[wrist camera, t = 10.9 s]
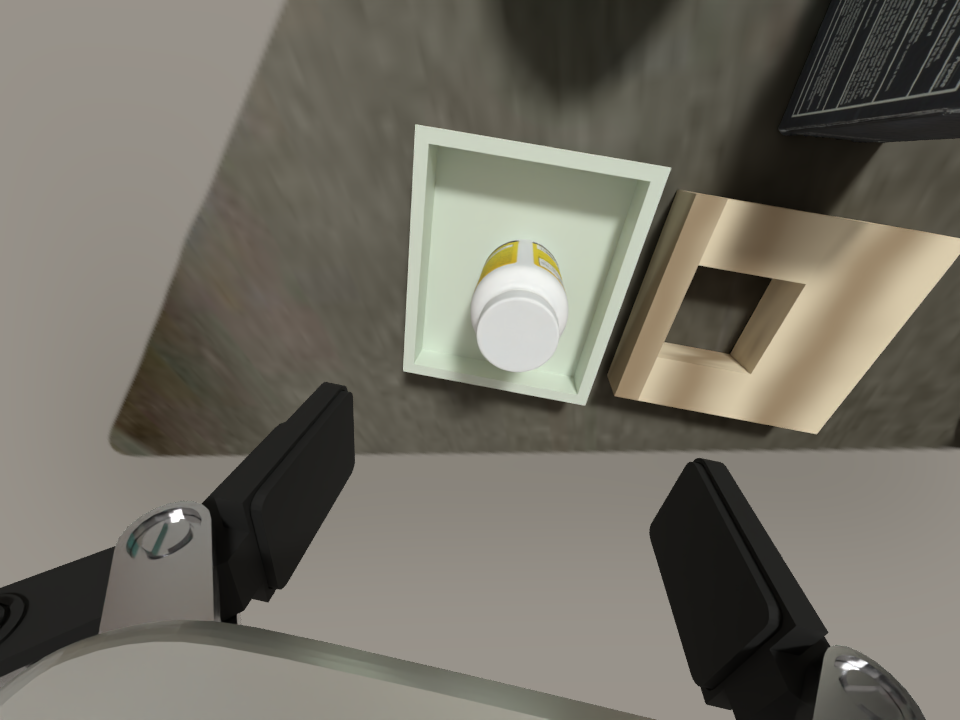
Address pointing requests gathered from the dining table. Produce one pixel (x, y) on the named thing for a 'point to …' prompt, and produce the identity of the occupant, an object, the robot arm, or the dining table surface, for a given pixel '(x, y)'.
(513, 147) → the tray
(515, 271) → the supplement bottle
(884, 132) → the small box
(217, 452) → the dining table surface
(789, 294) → the beige flat square frame
